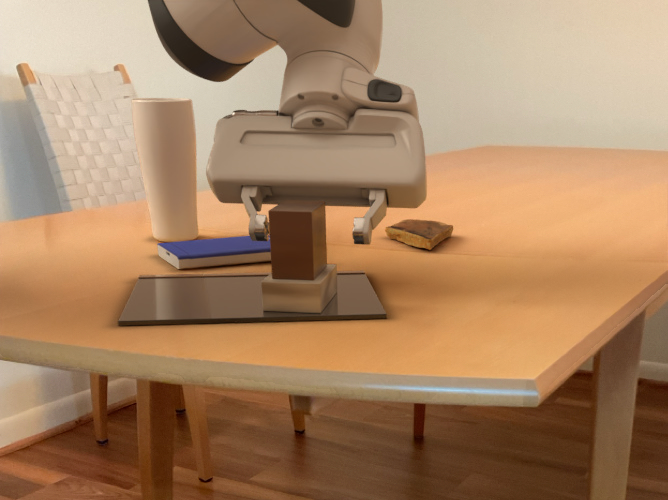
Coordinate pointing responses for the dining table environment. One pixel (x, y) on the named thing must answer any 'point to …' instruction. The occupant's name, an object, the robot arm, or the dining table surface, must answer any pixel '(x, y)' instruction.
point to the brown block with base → (298, 259)
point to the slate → (237, 300)
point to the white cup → (168, 165)
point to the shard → (419, 232)
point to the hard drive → (214, 252)
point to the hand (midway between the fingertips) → (309, 239)
